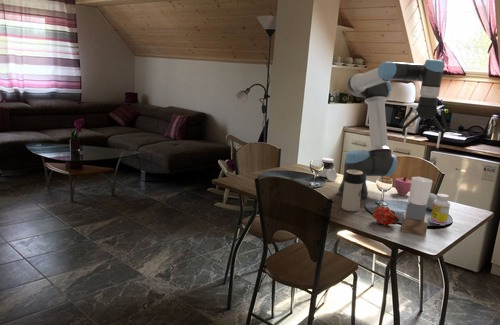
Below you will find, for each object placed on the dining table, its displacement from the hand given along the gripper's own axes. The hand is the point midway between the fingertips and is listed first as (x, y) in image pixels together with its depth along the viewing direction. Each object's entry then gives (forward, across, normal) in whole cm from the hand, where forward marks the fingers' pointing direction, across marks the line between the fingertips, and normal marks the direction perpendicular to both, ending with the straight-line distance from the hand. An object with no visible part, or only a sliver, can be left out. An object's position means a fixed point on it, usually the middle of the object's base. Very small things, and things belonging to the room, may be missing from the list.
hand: (420, 145), depth 183 cm
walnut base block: (+32, +2, -20) cm, 38 cm away
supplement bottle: (+33, +12, -4) cm, 35 cm away
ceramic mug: (+33, +11, +16) cm, 38 cm away
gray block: (+26, +2, -20) cm, 33 cm away
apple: (+34, -5, +35) cm, 49 cm away
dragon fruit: (+33, -9, -19) cm, 39 cm away
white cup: (+21, +2, -20) cm, 29 cm away
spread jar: (+34, -47, +44) cm, 73 cm away
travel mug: (+33, -26, -6) cm, 42 cm away
